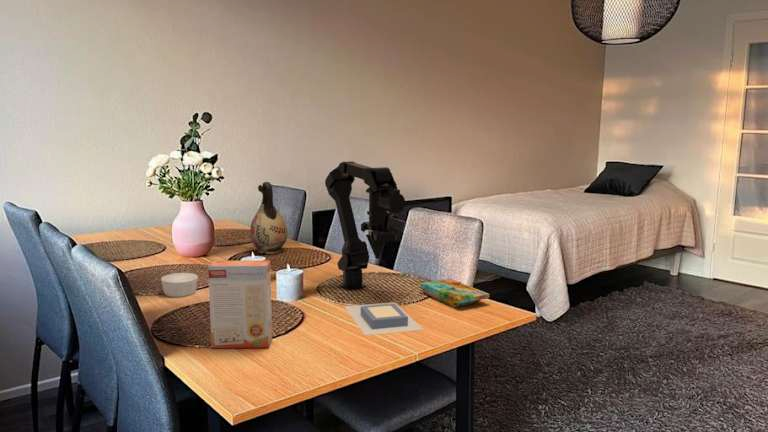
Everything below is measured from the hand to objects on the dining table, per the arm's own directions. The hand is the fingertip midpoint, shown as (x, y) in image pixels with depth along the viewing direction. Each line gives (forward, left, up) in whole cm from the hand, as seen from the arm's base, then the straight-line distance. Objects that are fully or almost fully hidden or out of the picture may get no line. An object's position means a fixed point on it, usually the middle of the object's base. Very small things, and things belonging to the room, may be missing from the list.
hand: (377, 258), depth 179 cm
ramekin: (-44, -45, -13) cm, 64 cm away
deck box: (+11, -10, -11) cm, 19 cm away
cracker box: (+7, -50, -13) cm, 52 cm away
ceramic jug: (-76, +6, -13) cm, 77 cm away
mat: (+15, -11, -13) cm, 22 cm away
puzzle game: (+15, +19, -14) cm, 28 cm away
